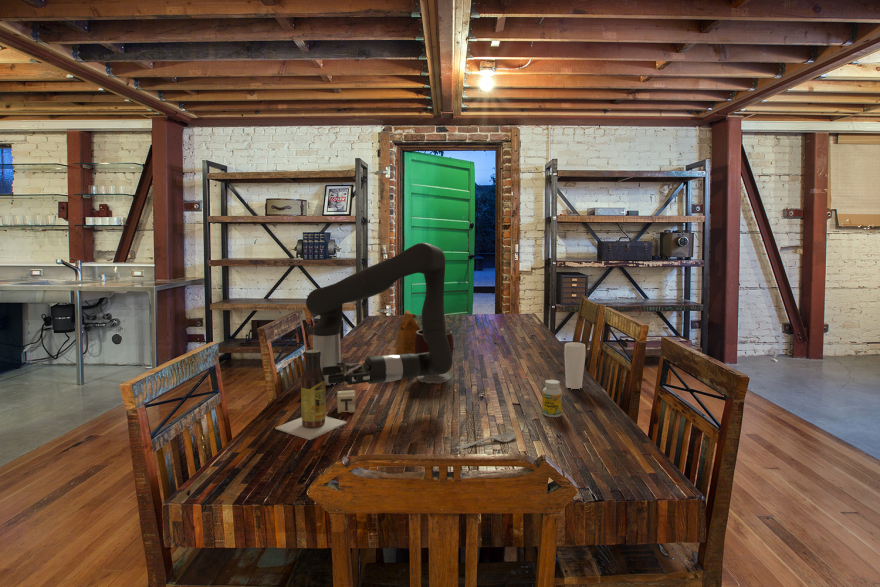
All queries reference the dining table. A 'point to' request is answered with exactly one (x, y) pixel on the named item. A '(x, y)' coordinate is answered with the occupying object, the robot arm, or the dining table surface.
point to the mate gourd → (423, 348)
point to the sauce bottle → (313, 391)
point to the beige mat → (310, 433)
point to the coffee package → (407, 334)
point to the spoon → (508, 436)
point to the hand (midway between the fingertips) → (325, 375)
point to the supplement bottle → (552, 399)
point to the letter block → (346, 401)
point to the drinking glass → (574, 364)
